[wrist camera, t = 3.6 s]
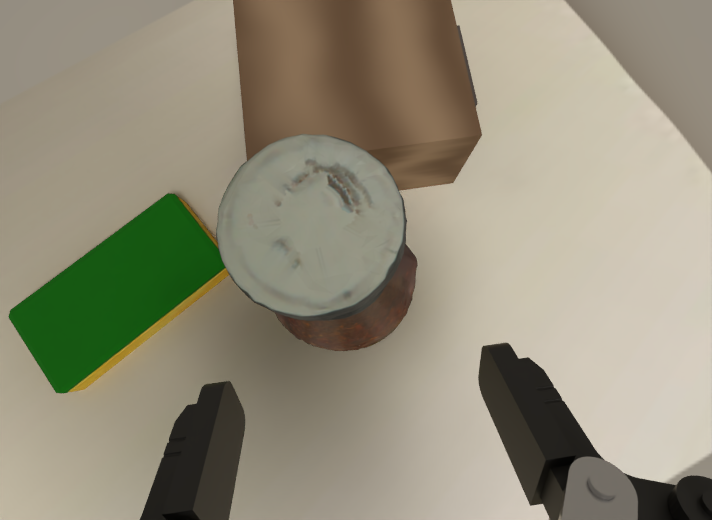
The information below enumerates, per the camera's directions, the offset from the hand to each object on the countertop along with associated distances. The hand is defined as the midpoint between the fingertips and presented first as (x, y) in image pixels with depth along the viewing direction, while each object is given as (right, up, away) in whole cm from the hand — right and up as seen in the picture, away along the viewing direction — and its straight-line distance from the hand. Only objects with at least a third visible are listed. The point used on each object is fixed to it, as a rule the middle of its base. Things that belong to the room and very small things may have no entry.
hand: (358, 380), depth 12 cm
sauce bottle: (0, +1, +15) cm, 15 cm away
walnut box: (0, +15, +18) cm, 23 cm away
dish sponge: (-17, +1, +16) cm, 23 cm away
